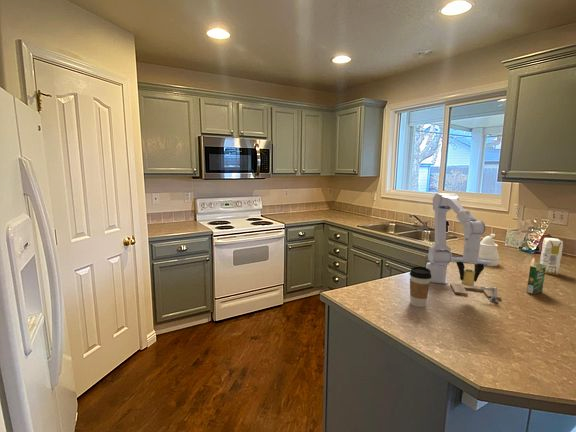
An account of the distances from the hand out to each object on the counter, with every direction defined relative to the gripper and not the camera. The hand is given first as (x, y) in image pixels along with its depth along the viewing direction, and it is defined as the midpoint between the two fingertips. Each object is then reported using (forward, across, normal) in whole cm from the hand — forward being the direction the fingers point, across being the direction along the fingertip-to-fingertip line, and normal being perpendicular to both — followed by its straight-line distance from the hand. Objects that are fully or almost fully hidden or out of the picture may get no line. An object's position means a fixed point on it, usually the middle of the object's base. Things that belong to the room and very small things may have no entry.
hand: (468, 280), depth 136 cm
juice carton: (+9, +54, +60) cm, 81 cm away
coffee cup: (+9, -20, -12) cm, 25 cm away
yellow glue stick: (+2, 0, 0) cm, 2 cm away
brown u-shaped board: (+9, +6, +11) cm, 15 cm away
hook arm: (+9, +9, +3) cm, 13 cm away
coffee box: (+9, +33, +21) cm, 40 cm away
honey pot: (+9, +24, +68) cm, 73 cm away
